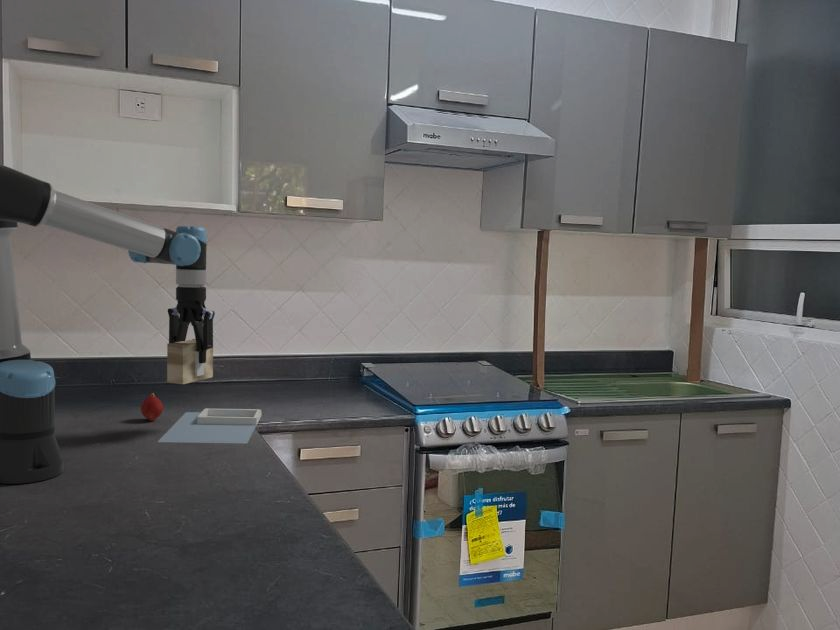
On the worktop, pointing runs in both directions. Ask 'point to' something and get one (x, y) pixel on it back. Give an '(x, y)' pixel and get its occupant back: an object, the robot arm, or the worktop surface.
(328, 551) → the worktop surface
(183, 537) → the worktop surface
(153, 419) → the onion
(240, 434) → the mat
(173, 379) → the block
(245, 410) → the frame
